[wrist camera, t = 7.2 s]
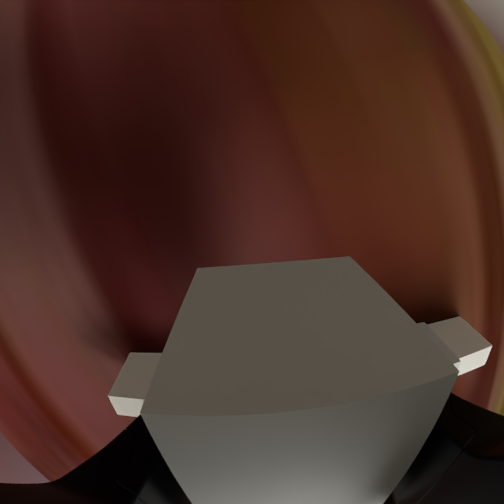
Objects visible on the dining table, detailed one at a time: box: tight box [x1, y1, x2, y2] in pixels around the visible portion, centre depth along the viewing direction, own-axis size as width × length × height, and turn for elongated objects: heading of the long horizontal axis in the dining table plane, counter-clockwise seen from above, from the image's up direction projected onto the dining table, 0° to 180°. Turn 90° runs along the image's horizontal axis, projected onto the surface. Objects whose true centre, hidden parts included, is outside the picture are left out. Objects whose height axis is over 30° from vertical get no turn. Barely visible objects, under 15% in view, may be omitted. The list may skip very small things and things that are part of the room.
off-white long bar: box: [108, 316, 492, 417], centre depth 14 cm, size 2×22×4 cm, turn 94°
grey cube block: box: [140, 256, 459, 504], centre depth 7 cm, size 6×5×6 cm
